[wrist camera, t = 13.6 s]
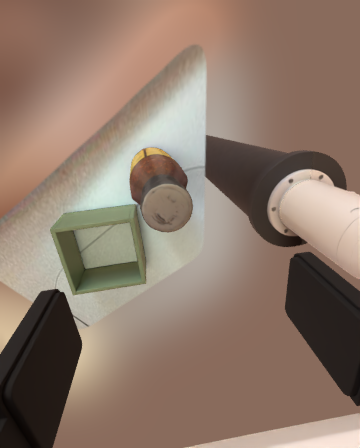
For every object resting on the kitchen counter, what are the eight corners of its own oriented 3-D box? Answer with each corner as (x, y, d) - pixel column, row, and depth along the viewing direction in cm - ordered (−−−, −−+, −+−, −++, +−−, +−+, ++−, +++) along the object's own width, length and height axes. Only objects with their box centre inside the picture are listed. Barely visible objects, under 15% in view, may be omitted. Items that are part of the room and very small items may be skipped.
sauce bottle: (141, 193, 38) (137, 259, 19) (124, 154, 35) (103, 190, 17) (180, 178, 37) (212, 232, 19) (166, 139, 35) (190, 158, 17)
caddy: (135, 203, 38) (133, 217, 33) (146, 262, 43) (146, 283, 37) (63, 213, 37) (49, 229, 32) (82, 272, 42) (72, 295, 36)
